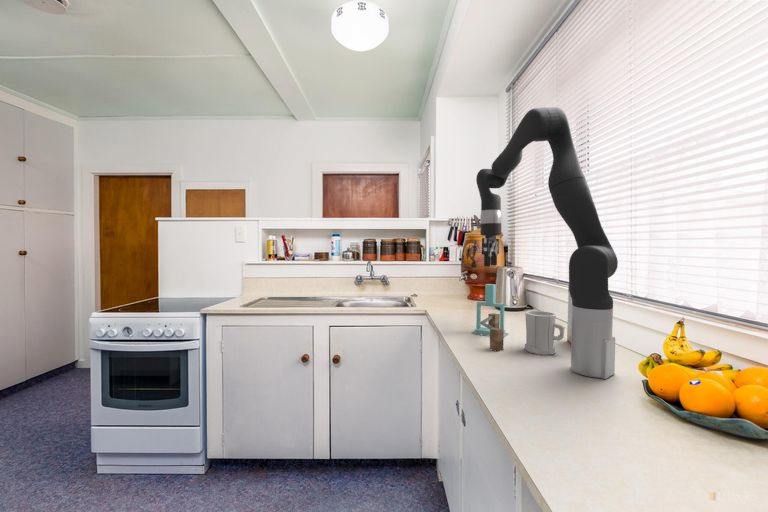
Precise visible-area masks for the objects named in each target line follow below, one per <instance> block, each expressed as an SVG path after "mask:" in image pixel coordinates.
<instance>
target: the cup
mask: <svg viewBox="0 0 768 512" xmlns="http://www.w3.org/2000/svg"><path fill="white" fill-rule="evenodd" d="M524 313H525V329H526V333H525V334H526V335H525V337H526V338H525V339H526V340H525V342H526V343H525V344H524V350H527V351H526V352H528V353H530V354H535V355H541V356H551V355H553V354H554V353H556V347H555V341H558V342H560V341H562V340H563V339H564V338H565V328H566V327H565V326H564V324H561V323H558V322H556V319H557V314H556V313H553V312H550V311H544V310H543V311H541V310H528V311H527V310H526V311H525V312H524ZM555 329H558V330H559V334H558V335H557V336H555Z"/></svg>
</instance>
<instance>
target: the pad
mask: <svg viewBox="0 0 768 512" xmlns="http://www.w3.org/2000/svg"><path fill="white" fill-rule="evenodd" d="M471 333H474V334H473V335H477V334H480V333H475V330H473V331H471ZM485 335H488V334H482V335H481V336H485ZM506 335H507V336H508V335H509V333H508V332H505V334H504V335H503V339H505V338H506V337H507V336H506ZM505 336H506V337H505ZM488 337H490V335H489V336H488ZM504 337H505V338H504Z"/></svg>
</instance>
